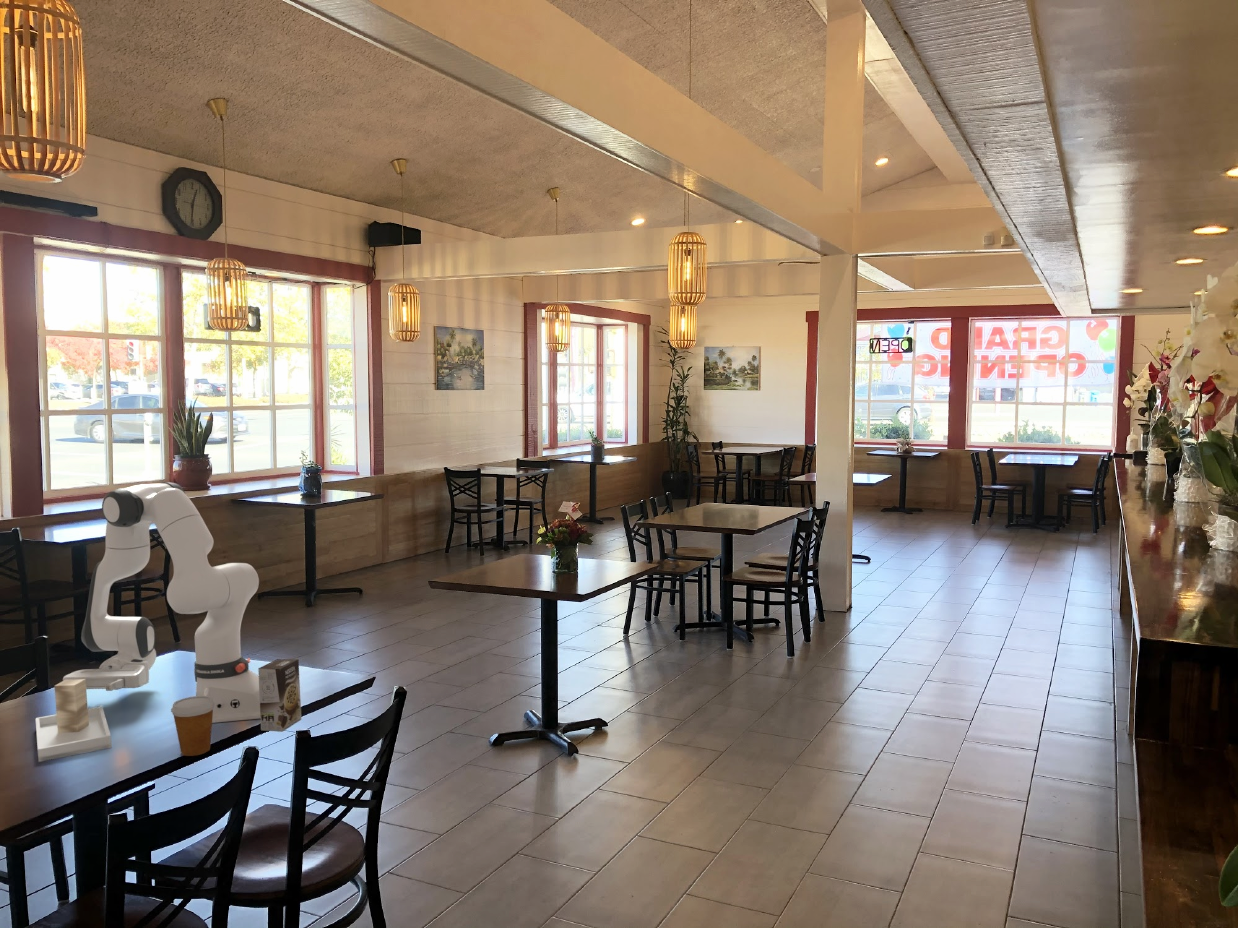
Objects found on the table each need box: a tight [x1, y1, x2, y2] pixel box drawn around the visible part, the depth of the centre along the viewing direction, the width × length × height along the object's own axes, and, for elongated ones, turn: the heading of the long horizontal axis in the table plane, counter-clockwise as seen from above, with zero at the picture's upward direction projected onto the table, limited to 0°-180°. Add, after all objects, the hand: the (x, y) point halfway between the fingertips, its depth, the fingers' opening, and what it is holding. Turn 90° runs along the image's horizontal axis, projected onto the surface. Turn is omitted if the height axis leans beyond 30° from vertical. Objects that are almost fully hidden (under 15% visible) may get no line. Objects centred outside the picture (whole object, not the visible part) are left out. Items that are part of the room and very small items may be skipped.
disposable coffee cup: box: [170, 695, 215, 757], centre depth 223 cm, size 10×10×12 cm
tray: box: [35, 706, 112, 763], centre depth 234 cm, size 26×15×3 cm, turn 33°
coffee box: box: [257, 658, 302, 733], centre depth 239 cm, size 9×6×16 cm
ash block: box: [54, 679, 89, 733], centre depth 238 cm, size 5×5×12 cm
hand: (90, 688), depth 246 cm, fingers open, 8 cm apart
